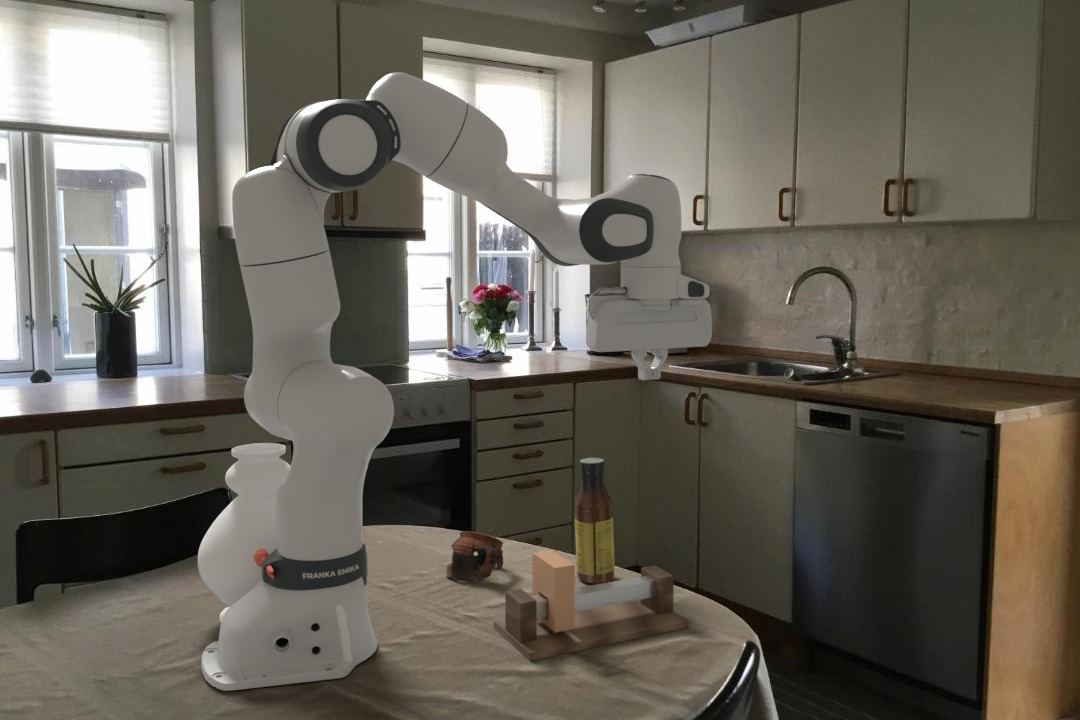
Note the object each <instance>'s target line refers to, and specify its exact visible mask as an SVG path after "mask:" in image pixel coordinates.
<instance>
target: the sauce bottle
mask: <svg viewBox="0 0 1080 720" xmlns="http://www.w3.org/2000/svg"><path fill="white" fill-rule="evenodd" d="M605 464H606V463H605V459H603V458H600V457H586V458H582V459H580V460H579V469H580V480H581V481H580V489H579V490H578V492H577V494H576V496H575V497H574V513H575V515H574V528H575V529H574V530H575V531H574V532H575V536H574V537H575V558H576V559H575V561H576V562H575V563H576V564H575V565H576V566H575V568H576V569H575V570H576V573H577V578H578V580H579V581H581V582H582V583H585V584H592V585H597V584H602V583H608V582H613V579H614V577H615V546H614V545H615V539H614V537H615V536H614V516H613V501H612V498H611V496H610V494H609V492H608V490H607V488H606V486H605V484H606V483H605V475H604V474H605V471H604V470H605V468H606V465H605Z"/></svg>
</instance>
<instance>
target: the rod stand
mask: <svg viewBox="0 0 1080 720" xmlns="http://www.w3.org/2000/svg"><path fill="white" fill-rule="evenodd" d="M674 578H675V577H674V575H673V574H671V573H670V572H668V571H666V570H664V569H662V568H660V567H658V566H657V565H655V564H654V565H650V566H643V567H641V568H640V576H637V577H636V576H635V577H630V578H627V579H626V578H625V579H618V580H615V581H613V580H612V581H610V582H607V583H602V584H592V585H586V586H581V587H575V609H574V629H570V630H565V631H560V632H554V631H552V630H551V629H550V628H549V627H547V626H546V625H545V624H544V623H542V622H541V621H540V620H539V619H541V618H546V617H549V599H548V598H547V597H546V596H544V595H543V594H540V595H535V596H533V595H530V594H528V593H527V592H526V591H525V590H523V589H522V588H518V589H517V588H516V589H513V590H512V589H511V590H506V591H505V592H504V594H505V595H504V599H505V604H504V605H505V607H504V609H505V611H504V612H505V614H504V615H505V616H504V617H505V618H503V619H502V618H501V619H497V620H493V629H494V630H496V632H498V633H499V634H500V635H501V636H502V637H503V638H504V639H505V640H506V641H507V642H509V643H510V644H511V645H512V646H513V647H514V649H516V650H517V651H518V652H519V653H520V654H522V655H523V656H524V657H525V659H527V661H529V662H530V661H535V660H541V659H546V658H551V657H554V656H559V655H565V654H569V653H574V652H578V651H583V650H589V649H593V648H597V647H601V646H607V645H612V644H616V643H621V642H626V641H631V640H635V639H640V638H645V637H649V636H654V635H658V634H659V635H660V634H663V633H669V632H674V631H679V630H682V629H687V628H689V624H690V621H689V619H687V618H685V617H683V616H682V615H680V614H679V613H677V612H676V611H674V589H675V588H674V582H675V581H674V580H675V579H674Z"/></svg>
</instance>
